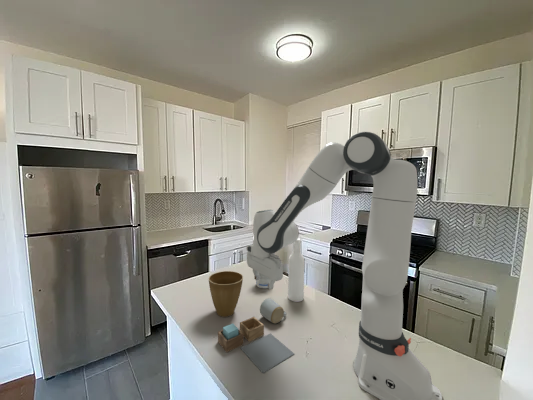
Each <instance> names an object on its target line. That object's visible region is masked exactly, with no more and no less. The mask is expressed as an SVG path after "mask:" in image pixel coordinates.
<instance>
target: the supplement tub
mask: <svg viewBox="0 0 533 400" xmlns="http://www.w3.org/2000/svg"><path fill="white" fill-rule="evenodd" d="M258 274H259V276H260V279H259V280H255V285H256V286H257V288H259V289H269V288H268V283H270V281H269V278H268V277H266V276H264V275H263V274H261V273H259V272H258Z"/></svg>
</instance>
